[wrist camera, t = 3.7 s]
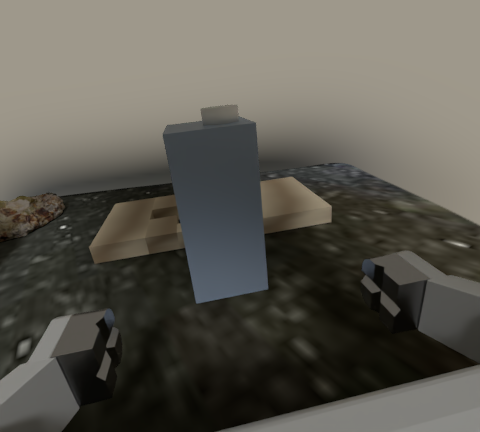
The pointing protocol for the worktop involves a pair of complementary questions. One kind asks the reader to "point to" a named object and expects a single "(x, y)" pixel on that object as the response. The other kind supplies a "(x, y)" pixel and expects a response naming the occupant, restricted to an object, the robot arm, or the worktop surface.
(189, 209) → the block
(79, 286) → the worktop surface
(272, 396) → the worktop surface
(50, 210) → the mineral rock
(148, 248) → the board
